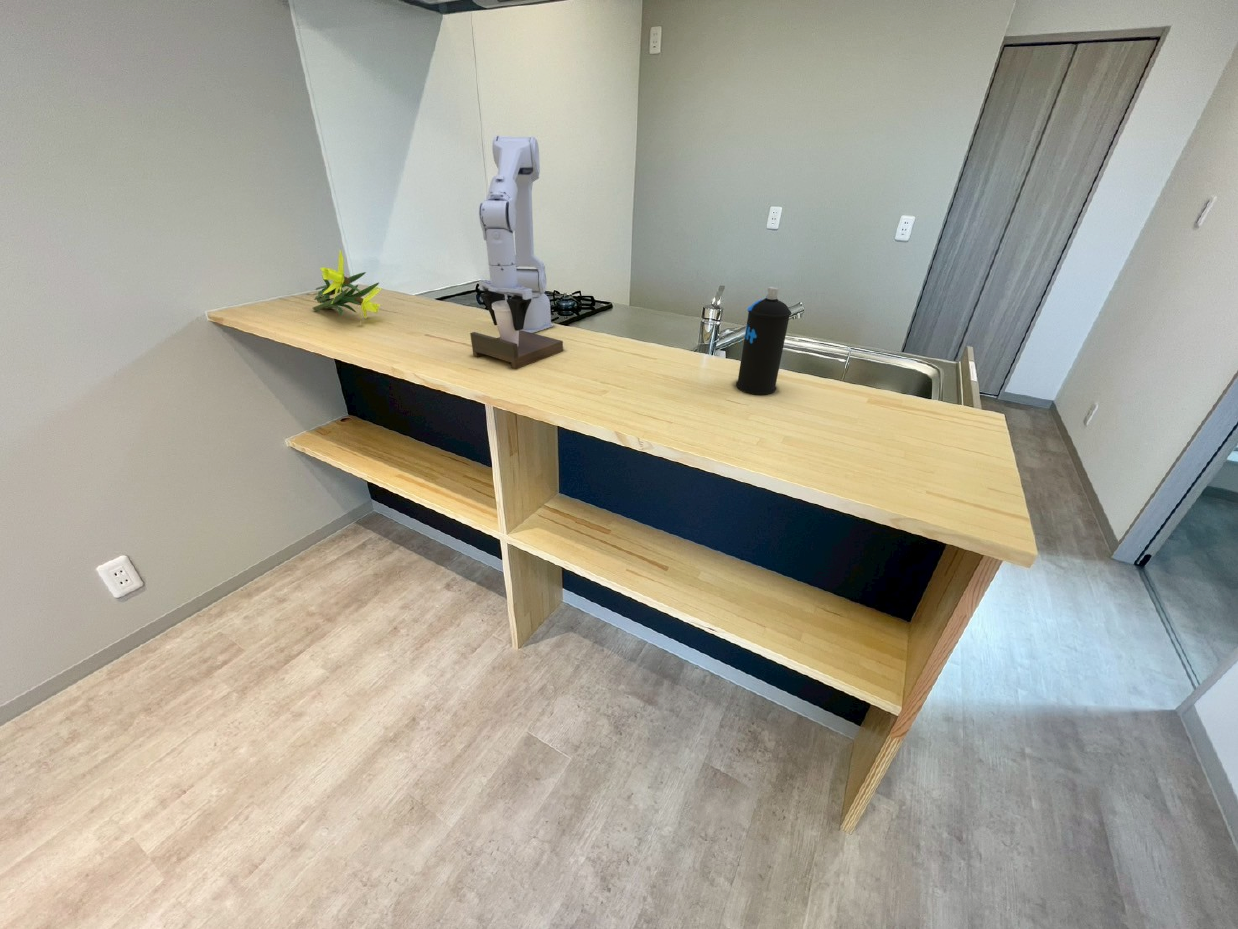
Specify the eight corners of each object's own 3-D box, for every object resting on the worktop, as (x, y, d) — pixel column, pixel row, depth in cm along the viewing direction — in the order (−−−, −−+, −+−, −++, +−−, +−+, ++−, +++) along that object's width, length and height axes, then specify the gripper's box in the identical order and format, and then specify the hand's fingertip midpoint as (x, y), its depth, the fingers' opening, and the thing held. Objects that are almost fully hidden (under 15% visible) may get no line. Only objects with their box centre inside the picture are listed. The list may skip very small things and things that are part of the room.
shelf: (522, 339, 126) (520, 318, 124) (563, 350, 120) (562, 328, 117) (473, 356, 115) (470, 332, 112) (515, 369, 109) (513, 345, 106)
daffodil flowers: (362, 305, 156) (407, 292, 132) (330, 338, 151) (372, 331, 127) (314, 260, 146) (354, 237, 121) (278, 294, 141) (313, 277, 116)
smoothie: (527, 342, 117) (522, 280, 110) (520, 350, 111) (514, 286, 104) (501, 340, 117) (494, 279, 110) (492, 349, 112) (484, 285, 105)
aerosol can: (777, 383, 105) (797, 285, 94) (774, 397, 98) (795, 294, 87) (738, 377, 107) (753, 281, 96) (733, 391, 100) (748, 290, 90)
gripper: (465, 262, 106) (473, 325, 113) (512, 270, 99) (518, 337, 106) (490, 258, 111) (496, 318, 118) (537, 265, 104) (541, 329, 111)
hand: (508, 326), depth 112 cm, fingers closed on smoothie, 6 cm apart
